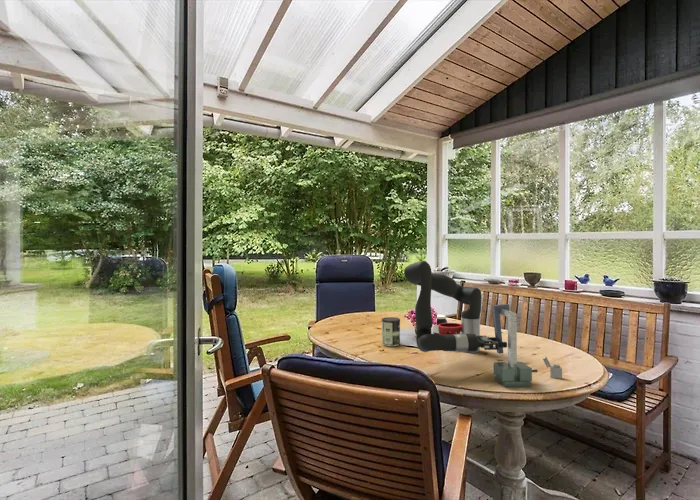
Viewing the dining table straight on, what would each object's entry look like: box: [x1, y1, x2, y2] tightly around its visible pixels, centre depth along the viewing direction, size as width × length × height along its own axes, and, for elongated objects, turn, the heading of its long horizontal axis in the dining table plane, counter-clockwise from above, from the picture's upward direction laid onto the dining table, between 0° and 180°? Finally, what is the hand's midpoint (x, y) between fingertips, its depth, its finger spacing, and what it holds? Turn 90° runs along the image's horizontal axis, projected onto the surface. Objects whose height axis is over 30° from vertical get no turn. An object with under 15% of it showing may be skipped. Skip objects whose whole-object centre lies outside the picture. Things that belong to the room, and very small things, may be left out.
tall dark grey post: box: [491, 303, 510, 355], centre depth 152 cm, size 6×2×20 cm, turn 91°
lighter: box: [542, 355, 563, 380], centre depth 148 cm, size 7×2×8 cm, turn 57°
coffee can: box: [381, 316, 401, 347], centre depth 200 cm, size 10×10×14 cm
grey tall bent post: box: [493, 309, 538, 388], centre depth 147 cm, size 16×18×28 cm
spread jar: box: [432, 314, 450, 334], centre depth 219 cm, size 12×11×12 cm
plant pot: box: [438, 322, 461, 335], centre depth 194 cm, size 13×13×12 cm
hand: (502, 342), depth 152 cm, fingers open, 7 cm apart
